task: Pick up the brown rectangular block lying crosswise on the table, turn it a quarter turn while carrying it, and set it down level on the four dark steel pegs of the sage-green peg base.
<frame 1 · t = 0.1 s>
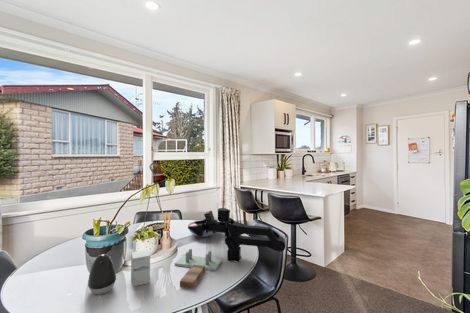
hand: (191, 224, 133), 17 cm above the table, tool horizontal, fingers open, 9 cm apart
ramen bowl: (203, 235, 163), on the table
supplement box: (140, 281, 105), on the table
peg base: (198, 263, 122), on the table
brown rectangular block: (193, 279, 108), on the table
tapered speaker: (102, 291, 98), on the table
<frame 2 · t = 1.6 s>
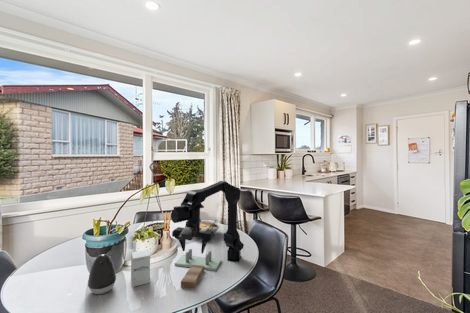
hand: (192, 252, 108), 12 cm above the table, tool pointing down, fingers open, 9 cm apart
nothing on the table moved.
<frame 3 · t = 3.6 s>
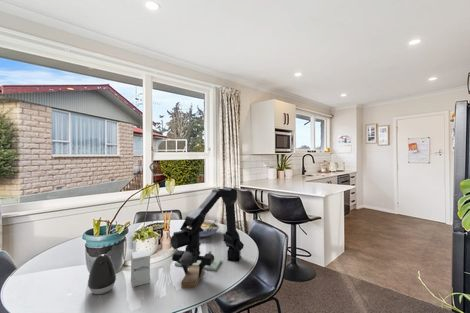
hand: (193, 275, 108), 1 cm above the table, tool pointing down, fingers closed on brown rectangular block, 6 cm apart
brown rectangular block: (193, 279, 108), on the table, touching gripper
everything else where it was.
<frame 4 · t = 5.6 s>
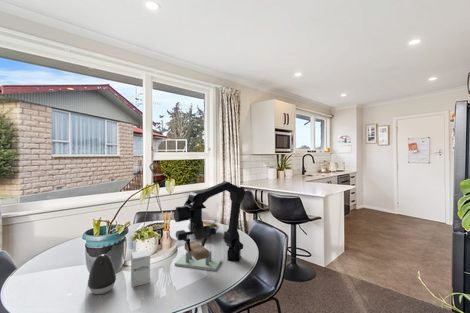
hand: (196, 249, 114), 11 cm above the table, tool pointing down, fingers closed on brown rectangular block, 6 cm apart
brown rectangular block: (196, 252, 114), point 9 cm above the table, touching gripper
everything else where it was.
when the fingers open (8 cm above the table, at t = 7.6 s): brown rectangular block stays where it is, resting on peg base.
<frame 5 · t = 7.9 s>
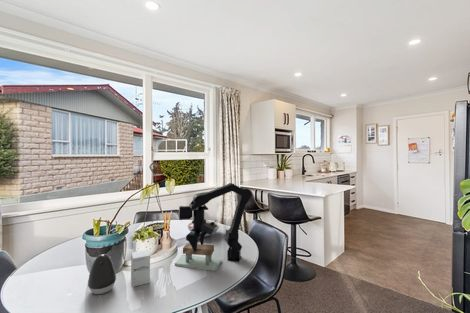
hand: (198, 247, 122), 8 cm above the table, tool pointing down, fingers open, 9 cm apart
brown rectangular block: (198, 252, 122), point 6 cm above the table, touching peg base
everything else where it was.
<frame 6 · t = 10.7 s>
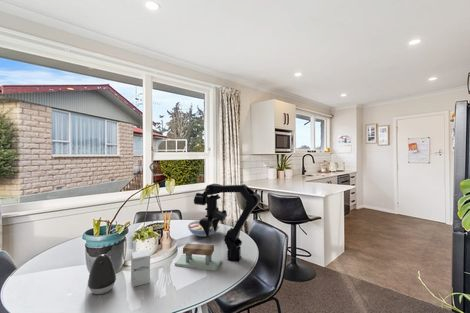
hand: (211, 233, 133), 12 cm above the table, tool pointing down, fingers open, 9 cm apart
nothing on the table moved.
at the end: brown rectangular block 0.0 cm off-centre on the peg base, point 6.0 cm above the peg base's base; brown rectangular block tilted 0°; the gripper is holding nothing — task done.
